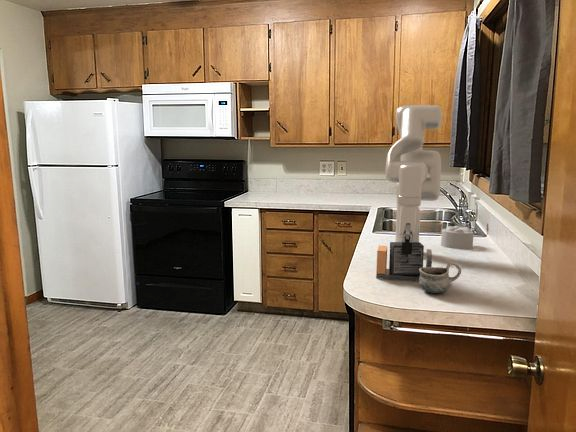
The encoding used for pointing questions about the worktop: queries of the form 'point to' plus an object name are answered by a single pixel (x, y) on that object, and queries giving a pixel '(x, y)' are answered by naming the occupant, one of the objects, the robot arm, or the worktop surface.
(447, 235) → the beige piece
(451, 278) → the mug
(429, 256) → the grey bent bar
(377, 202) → the worktop surface
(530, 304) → the worktop surface
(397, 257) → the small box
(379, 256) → the vise slide jaw
